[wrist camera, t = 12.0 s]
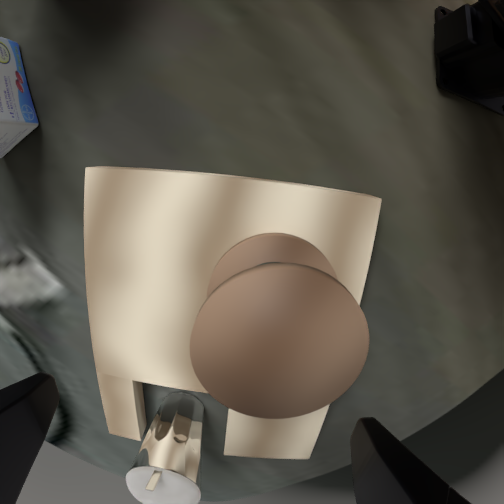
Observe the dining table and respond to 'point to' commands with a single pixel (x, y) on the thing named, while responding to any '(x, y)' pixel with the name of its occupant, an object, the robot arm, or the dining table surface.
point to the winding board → (197, 279)
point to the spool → (277, 330)
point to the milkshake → (170, 454)
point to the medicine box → (14, 98)
